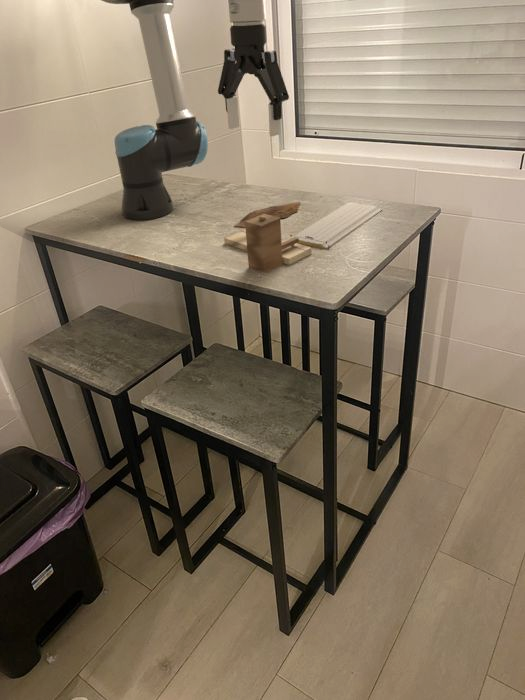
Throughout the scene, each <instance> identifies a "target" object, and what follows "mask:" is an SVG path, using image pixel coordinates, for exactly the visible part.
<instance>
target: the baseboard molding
mask: <svg viewBox="0 0 525 700" xmlns="http://www.w3.org/2000/svg"><path fill="white" fill-rule="evenodd" d="M380 209H381V207H380V208H379V206H377V205H371V204H370V205H369V204H365V203H364V204H361V203H356V202H349V201H348V202H347V203H345V204H343V205H342V206H340V207H338V208H337V209H335V210H333V211H332V212H330V213H329V214H327V215H325V216H324V217H323V218H321V219H319V220H317V221H316V222H314V223H313V224H311V225H309V226H308V227H306V228H305V229H303V230H302V231H300V232H298V233H297V234H295V235H292V234H290V239H292V238H294V237H296V238H299V242H298V244H301V245H304V246H308V247H314V248H319V249H323V250H324V249H325V250H330V249H331V248H332V246H334V245H336V244H337V243H338V242H340V241H341V240H343V239H344V238H345V237H347V236H348V235H349V234H351V233H352V232H354V231H355V230H357V229H358V228H360V227H361V226H362V225H364V224H365V223H366V222H368V221H369V220H371V219H372V218H374V217H375V216H376V215H378V214H379V213H380V212H379V211H380ZM378 212H379V213H378ZM377 213H378V214H377ZM375 214H376V215H375ZM374 215H375V216H374ZM373 216H374V217H373ZM370 218H371V219H370Z"/></svg>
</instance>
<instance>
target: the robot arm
mask: <svg viewBox="0 0 525 700" xmlns="http://www.w3.org/2000/svg"><path fill="white" fill-rule="evenodd" d="M101 1H102V2H104V3H108V4H113V5H114V4H115V5H124V4H125V5H127V4H128V5H129V8H130V12H131V13H130V14H131V15H133V16H134V17H135V18H137V20H138V23H139V28H140V33H141V36H142V37H141V38H142V40H143V45H144V46H143V47H144V49H145V50H144V51H145V55H146V60H147V65H148V68H149V69H148V70H149V74H150V79H151V83H152V87H153V91H154V97H155V101H156V104H157V105H156V106H157V109H158V114H159V115H158V118H157V119H156V121H155V126H156V129H155V127H154V126H153V125H150V124H142V125H140V126H139V125H138V126H133V127H130V128H126V129H124V130H122V131H119V133H118V134H117V135H115V137H114V139H113V140H114V148H115V156H116V158H117V163H118V167H119V168H118V169H119V174H120V178H121V183H122V187H123V191H122V192H123V194H122V201H121V212H122V216H123V217H124V218H125V219H129V220H134V221H135V220H136V221H143V220H145V221H146V220H147V221H148V220H153V219H158V218H161V217H165V216H167V215H168V214H170V213H172V212H173V210H174V205H173V200H172V198H171V196H170V194H169V192H168V190H167V188H166V186H165V184H164V179H163V178H164V177H163V173H165V172H168V171H174V170H178V169H179V170H180V169H182V168H189V167H190V168H191V167H193V166H195V165H198V164H201V163H203V161H204V160H205V158H206V157H207V155H208V148H209V140H208V134H207V131H206V129H205V126H204V125H203V123H202V122H200V121H197V120H196V119H197V117H196V115H195V114H194V113H193V112H191V111H190V108H189V105H188V99H187V94H186V89H185V84H184V79H183V75H182V69H181V64H180V59H179V54H178V49H177V43H176V37H175V33H174V29H173V28H174V27H173V23H172V17H171V13H172V10H173V9H174V7H175V3H174V0H101ZM227 3H228V12H229V14H228V15H229V22H230V23H232V25H231V26H230V29H229V31H230V32H229V34H230V44H231V46H232V47H234V48H228V49H227V48H226V49H224V51H223V63H222V64H223V65H222V68H221V69H222V70H221V74H220V79H219V84H218V89H217V93H218V94H219V95H222V96H223V98H224V102H225V110H226V113H227V123H228V124H227V125H228V129H229V130H232V129H236V128H240V121H239V120H240V119H239V106H238V97H237V94H236V93H237V91H238V88H239V86H240V84H241V83H242V80H243V78H244V76H245V75H247V74H248V75H253V76H254V77H255V78H257V79H258V81H259V83H260V85H261V86H262V88H263V90H264V93H265V94H266V95H267V97H268V99H269V101H270V102H269V104H267V105H268V108H267V109H268V129H269V137H276V136H279V135H281V120H282V118H283V116H282V115H283V114H282V109H283V108H282V104H283V102H286V101H289V99H290V96H289V92H288V89H287V87H286V84H285V80H284V77H283V75H282V72H281V69H280V67H279V63H278V55H277V51H276V50H275V49H273V50H267V51H266V50H265V45H266V44H267V25H266V24H265V23H264V21H265V20H266V19H267V16H266V0H228V1H227Z"/></svg>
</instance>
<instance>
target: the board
mask: <svg viewBox="0 0 525 700" xmlns="http://www.w3.org/2000/svg"><path fill="white" fill-rule="evenodd" d="M223 238H224V239H223V240H224V245H229V246H231V247H234V248H237V249H240V250H244V251H246V252H247V241H246V229H245V228H243V229H242V230H239V231H237V232H235V233H232V234H230V235H227V236H226V237H223ZM287 240H288V239H284V238H281V243H283V242H285V241H287ZM312 251H313V250H312V246H309V245H304V244H299V243H296V244H294V246H289V247H287V248H285V249H283V250H282V264H285V265H288V266H290V265H292V264H294V263H296V262H298V261H300V260H302V259H303V258H306V257H307V256H308V257H309V255H311V254H312Z"/></svg>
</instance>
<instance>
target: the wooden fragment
mask: <svg viewBox="0 0 525 700" xmlns="http://www.w3.org/2000/svg"><path fill="white" fill-rule="evenodd" d="M301 203H302V202H300V201H297V202H292V203H291V202H290V203H285V204H282V205H274V206H269V207H264V208H262V209H257V210H254V211H252V212H249V213H248V214H246V215H245V216H244V217H243V218H242V219H240V220H239V221H238V222H237V223H236V224H235V225H234V226H233V228H238V229H239V228H240V229H245V221H247V220H250V219H252V218H255V217H257V216H259V215H262V214H267V215H271V216H275V217H278V218H280V220H281V219H283V218H288V217H289V216H291V215H292V214H295V213H298V212H299V208H300V205H301Z"/></svg>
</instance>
